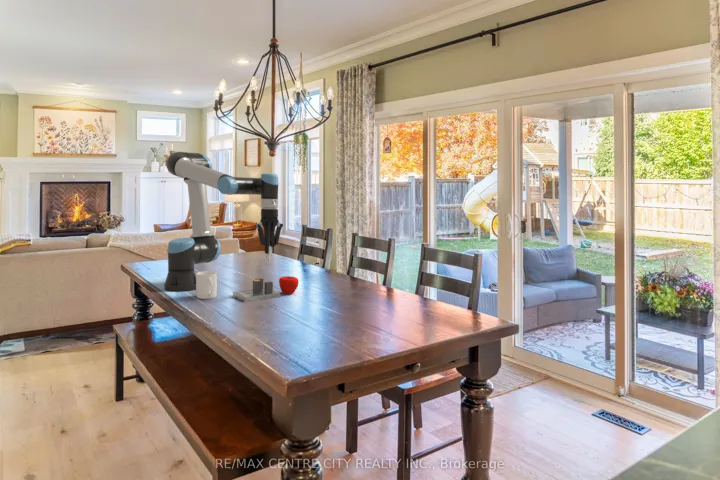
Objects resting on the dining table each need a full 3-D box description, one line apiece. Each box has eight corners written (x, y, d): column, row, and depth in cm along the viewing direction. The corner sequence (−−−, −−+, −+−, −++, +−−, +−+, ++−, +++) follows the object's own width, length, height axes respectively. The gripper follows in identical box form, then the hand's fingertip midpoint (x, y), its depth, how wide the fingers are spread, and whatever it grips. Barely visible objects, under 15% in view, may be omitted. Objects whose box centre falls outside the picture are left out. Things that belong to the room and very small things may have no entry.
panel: (233, 296, 217) (233, 291, 217) (267, 292, 228) (267, 287, 228) (244, 301, 208) (244, 297, 208) (280, 297, 219) (280, 292, 218)
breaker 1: (255, 289, 223) (255, 278, 223) (261, 288, 225) (261, 277, 225) (257, 290, 222) (257, 279, 221) (263, 289, 224) (263, 278, 223)
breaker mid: (252, 291, 218) (252, 280, 217) (258, 291, 219) (258, 279, 219) (254, 292, 216) (254, 280, 215) (260, 292, 218) (260, 280, 217)
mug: (201, 301, 206) (201, 276, 205) (193, 296, 216) (193, 272, 215) (221, 299, 211) (221, 275, 209) (213, 294, 220) (213, 270, 219)
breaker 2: (264, 292, 216) (264, 281, 216) (270, 292, 218) (270, 281, 218) (266, 293, 215) (266, 282, 214) (272, 293, 217) (272, 282, 216)
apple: (301, 292, 229) (302, 276, 228) (291, 296, 221) (291, 279, 220) (285, 290, 233) (286, 274, 232) (275, 294, 225) (275, 277, 224)
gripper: (260, 208, 210) (259, 262, 213) (286, 208, 218) (286, 260, 221) (252, 208, 216) (252, 260, 219) (278, 208, 224) (277, 258, 227)
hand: (269, 260), depth 220 cm, fingers closed
